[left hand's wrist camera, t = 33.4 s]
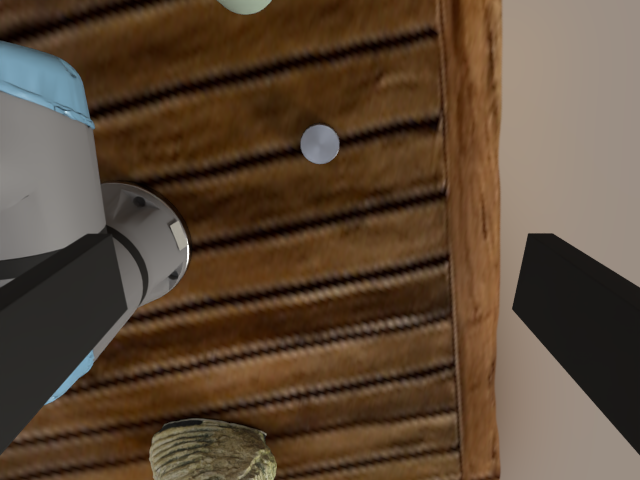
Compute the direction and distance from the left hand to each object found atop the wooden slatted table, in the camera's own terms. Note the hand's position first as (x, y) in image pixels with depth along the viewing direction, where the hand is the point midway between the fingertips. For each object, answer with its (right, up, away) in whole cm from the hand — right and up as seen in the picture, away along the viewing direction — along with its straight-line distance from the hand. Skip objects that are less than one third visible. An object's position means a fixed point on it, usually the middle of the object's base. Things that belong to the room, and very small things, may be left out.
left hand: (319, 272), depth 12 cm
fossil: (-16, -29, +47) cm, 57 cm away
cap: (0, +11, +29) cm, 31 cm away
